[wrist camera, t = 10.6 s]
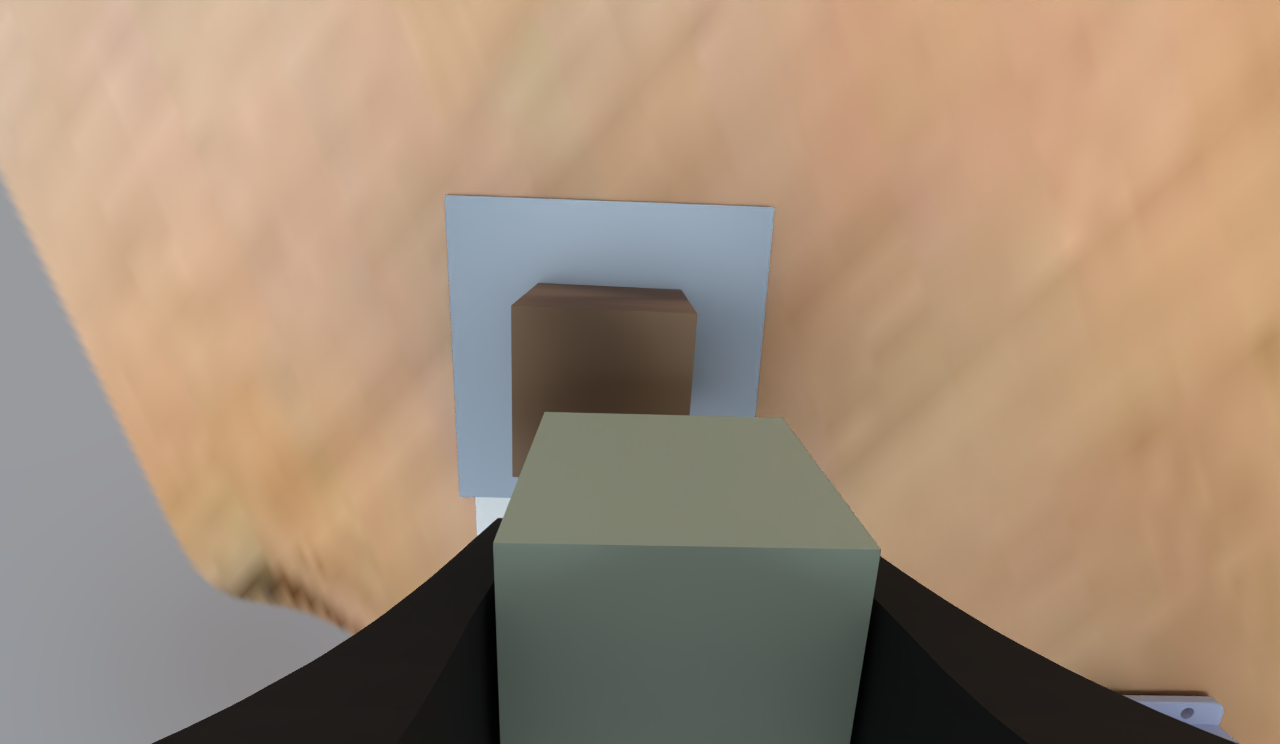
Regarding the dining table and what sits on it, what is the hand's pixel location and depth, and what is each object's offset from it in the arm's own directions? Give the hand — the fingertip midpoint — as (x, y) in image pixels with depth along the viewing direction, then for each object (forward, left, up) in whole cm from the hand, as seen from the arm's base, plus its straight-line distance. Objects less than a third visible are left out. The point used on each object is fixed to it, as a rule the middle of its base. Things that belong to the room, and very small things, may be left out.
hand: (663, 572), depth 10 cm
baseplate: (+1, -1, -10) cm, 10 cm away
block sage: (0, 0, -2) cm, 2 cm away
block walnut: (+1, -1, -10) cm, 10 cm away
